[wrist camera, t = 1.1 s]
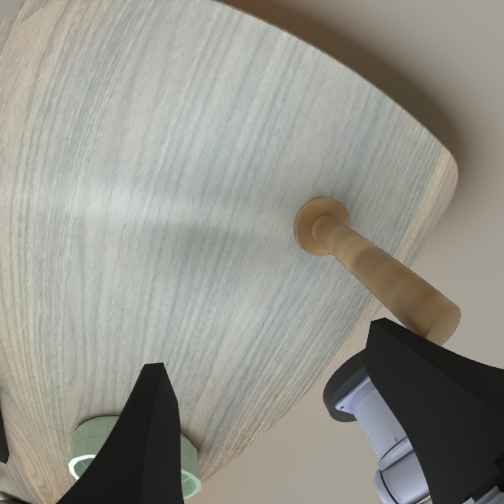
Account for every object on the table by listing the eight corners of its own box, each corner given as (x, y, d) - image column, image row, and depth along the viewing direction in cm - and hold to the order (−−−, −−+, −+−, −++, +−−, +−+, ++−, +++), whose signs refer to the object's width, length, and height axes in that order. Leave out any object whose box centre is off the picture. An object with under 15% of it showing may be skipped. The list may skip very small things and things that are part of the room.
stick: (356, 220, 19) (484, 309, 9) (320, 262, 19) (424, 379, 9) (321, 185, 17) (463, 261, 7) (281, 230, 18) (387, 352, 8)
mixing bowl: (222, 441, 25) (229, 477, 21) (161, 480, 28) (163, 509, 24) (97, 395, 20) (89, 437, 16) (62, 445, 22) (57, 477, 18)
